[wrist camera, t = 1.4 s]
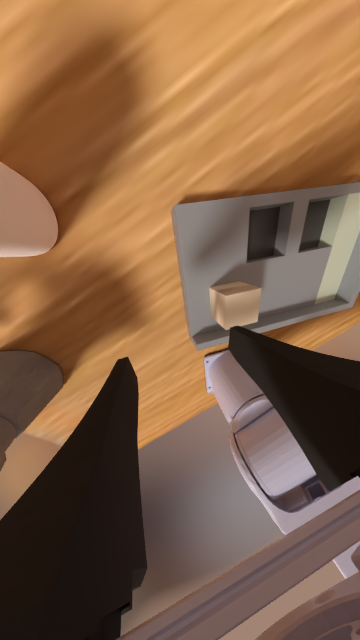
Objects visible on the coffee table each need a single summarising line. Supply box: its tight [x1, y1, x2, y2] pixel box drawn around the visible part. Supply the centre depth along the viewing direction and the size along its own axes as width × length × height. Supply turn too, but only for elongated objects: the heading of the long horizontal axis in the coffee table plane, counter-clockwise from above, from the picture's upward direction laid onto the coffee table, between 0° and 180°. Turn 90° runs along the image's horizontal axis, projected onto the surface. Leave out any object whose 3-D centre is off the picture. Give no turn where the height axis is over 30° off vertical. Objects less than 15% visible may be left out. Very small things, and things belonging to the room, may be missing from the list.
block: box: [209, 281, 261, 330], centre depth 17 cm, size 4×4×4 cm
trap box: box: [171, 182, 360, 351], centre depth 18 cm, size 16×26×4 cm, turn 98°
